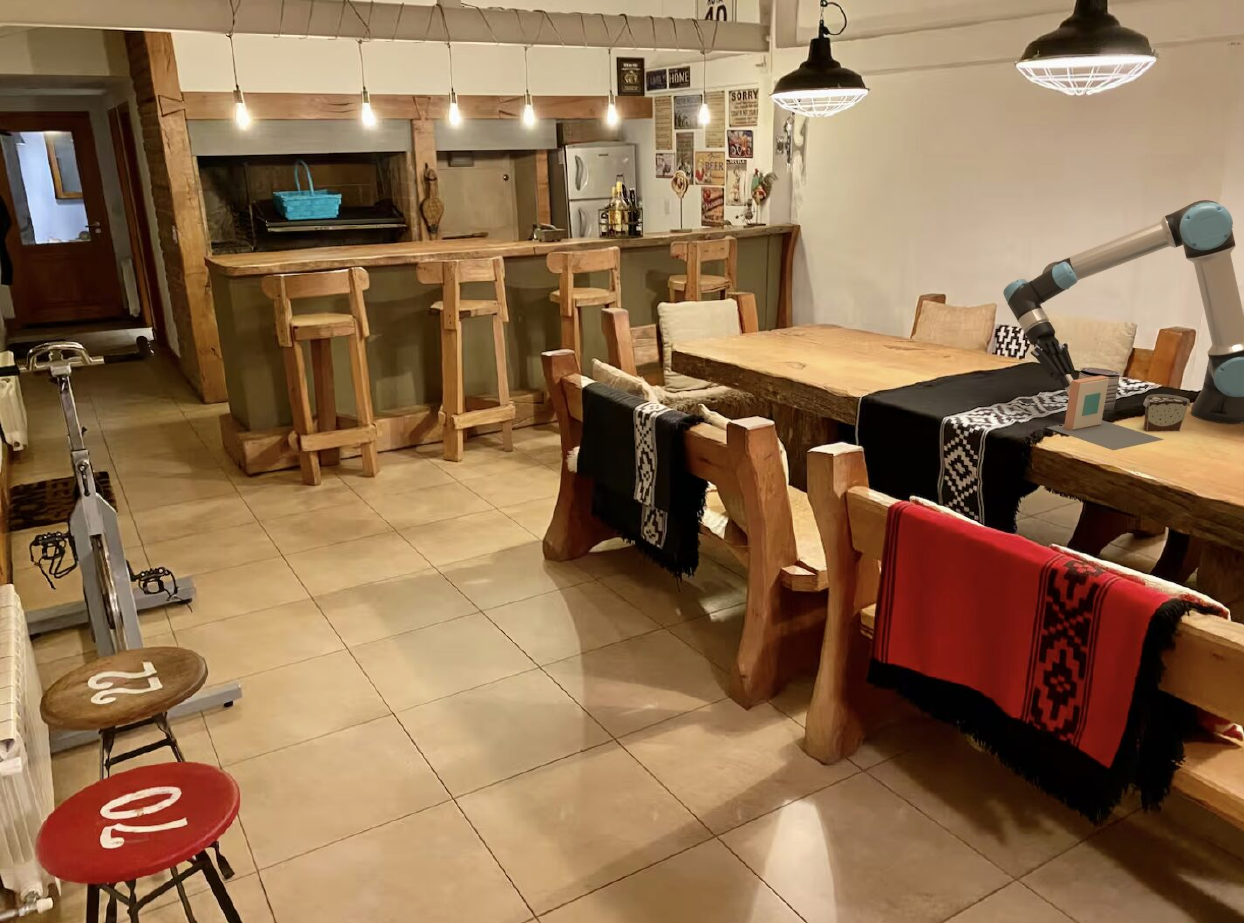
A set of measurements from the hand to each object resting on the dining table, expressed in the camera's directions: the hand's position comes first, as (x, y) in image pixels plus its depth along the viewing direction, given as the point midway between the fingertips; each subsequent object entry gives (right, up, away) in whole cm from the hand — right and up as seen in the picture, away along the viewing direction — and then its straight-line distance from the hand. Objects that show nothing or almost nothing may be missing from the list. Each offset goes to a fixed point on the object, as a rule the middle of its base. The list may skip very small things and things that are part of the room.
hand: (1075, 395), depth 266 cm
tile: (+2, -9, 0) cm, 9 cm away
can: (+16, -2, +21) cm, 26 cm away
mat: (+5, -12, -6) cm, 14 cm away
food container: (+22, -10, -2) cm, 24 cm away
